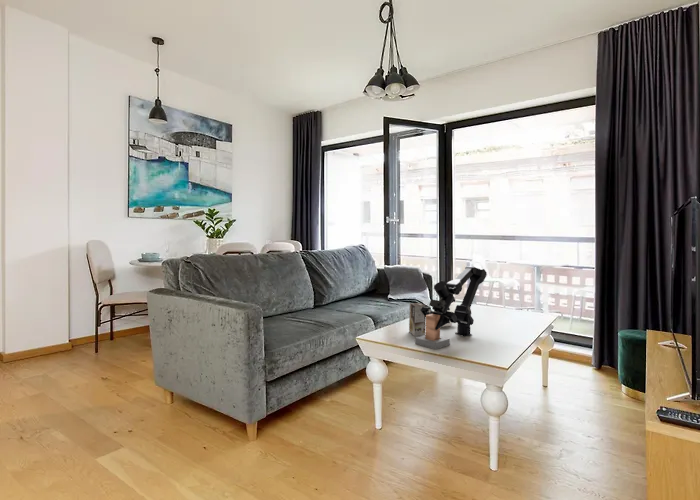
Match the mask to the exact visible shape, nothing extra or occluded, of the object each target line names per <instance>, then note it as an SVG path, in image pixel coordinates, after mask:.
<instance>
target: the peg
mask: <svg viewBox="0 0 700 500" xmlns="http://www.w3.org/2000/svg"><path fill="white" fill-rule="evenodd" d="M439 320H440V315H436V314H429V315H426V320H425V339H429V340H433V341H435V340H438V339H440V336H441V327H440V328H439V329H437V330H436V329H435V328H436V325H437V323H438V322H439Z"/></svg>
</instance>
